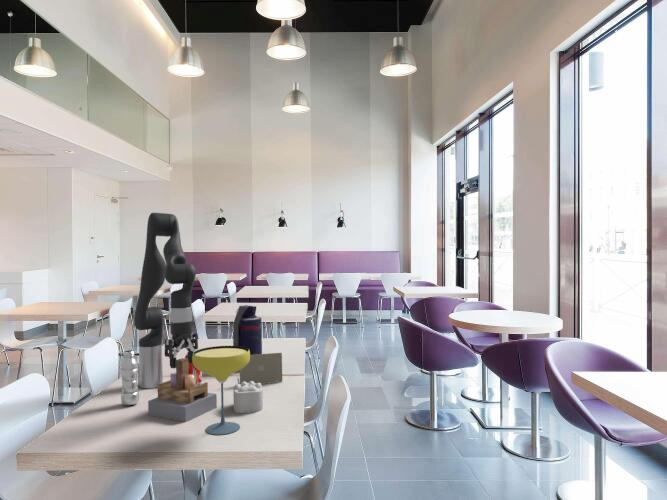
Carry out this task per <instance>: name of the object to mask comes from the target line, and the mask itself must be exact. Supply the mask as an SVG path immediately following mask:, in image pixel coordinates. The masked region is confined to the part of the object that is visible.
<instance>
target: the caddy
mask: <svg viewBox="0 0 667 500" xmlns="http://www.w3.org/2000/svg"><path fill="white" fill-rule="evenodd" d="M176 363H177V367H176V368H175V373H176V388H171V379H169V380H166V381H163V383H161V384H158V385H157V386H158V387H157V397H158V398H159V399H166V400H172V401H178V402H185V403H193V402H194V396H198V397H207V396H208V393H209V392H208V389H209V388H208V384H209V383H208V381H207V382H203V383H201V384H199V385H195V387H192V388H190V389H188V390H185V375H189V368H188V359H185V357H184V358H178V359H176Z"/></svg>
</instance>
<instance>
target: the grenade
mask: <svg viewBox="0 0 667 500" xmlns="http://www.w3.org/2000/svg"><path fill="white" fill-rule="evenodd" d="M256 313H257V306H255V305H247V304H246V305H239V306H238V308H237V309H236V311H235V318H234V320H233V323H232V325H233V326H232V328H233V329H232V331H233V332H232V333H233V334H232V337H233V339H232V344H233V345H232V346H241V347H246V348H248V349H249V351H250V355H255V354H263V345H262V344H263V341H262V340H263V339H262V338H263V336H262V335H263V334H262V331H263V330H262V317H259V316H257V315H256Z"/></svg>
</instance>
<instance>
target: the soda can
mask: <svg viewBox="0 0 667 500" xmlns="http://www.w3.org/2000/svg"><path fill="white" fill-rule="evenodd" d="M184 359H187V353H185V357H184ZM188 368H189V375H195V385H200V384H202V382H203V372H201V371H199V370H198V369H197V368H195V367H194V365H193V363H188Z"/></svg>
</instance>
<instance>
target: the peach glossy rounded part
mask: <svg viewBox="0 0 667 500" xmlns="http://www.w3.org/2000/svg"><path fill="white" fill-rule="evenodd" d="M192 387H195V375H185V390H188V389H190V388H192Z"/></svg>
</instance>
